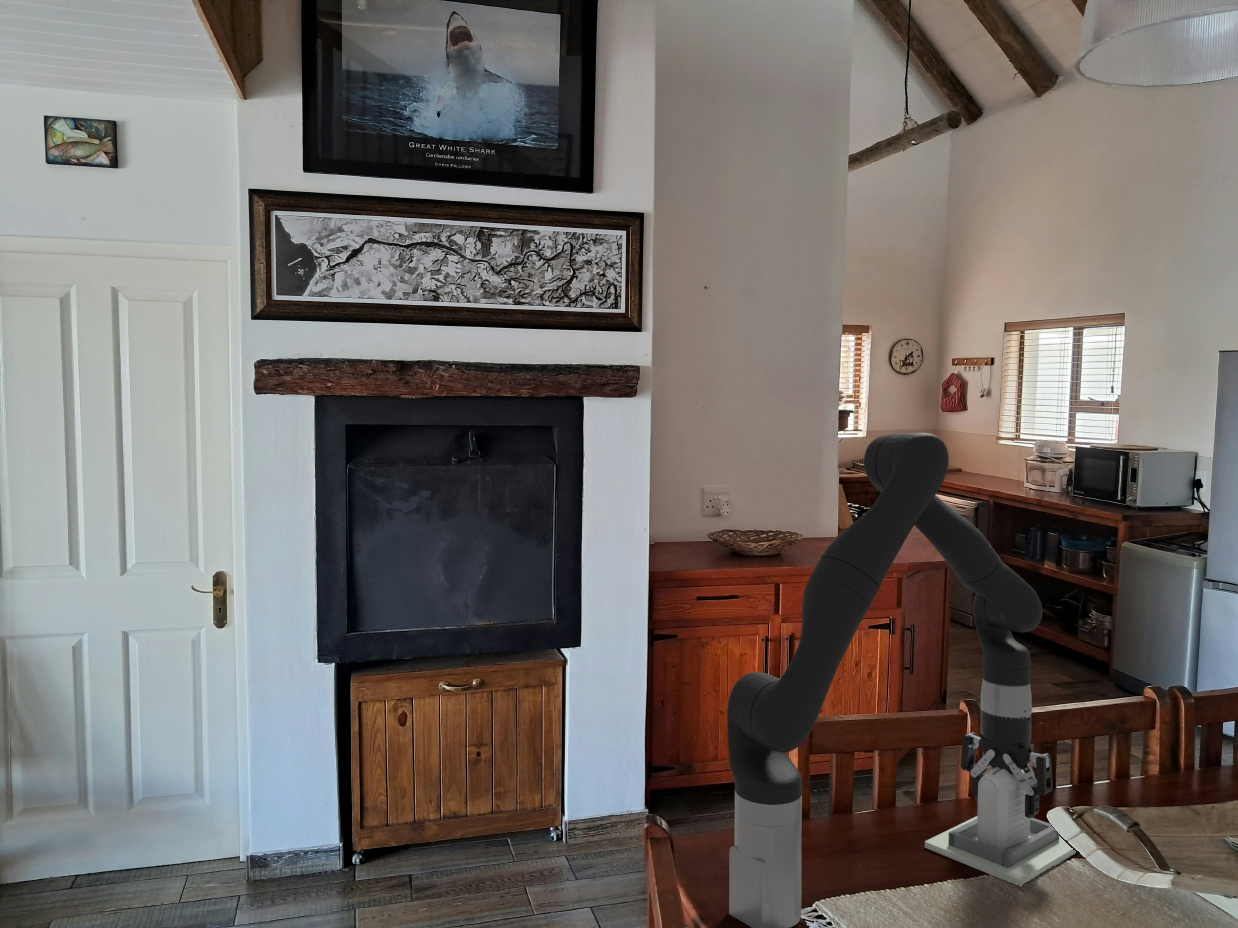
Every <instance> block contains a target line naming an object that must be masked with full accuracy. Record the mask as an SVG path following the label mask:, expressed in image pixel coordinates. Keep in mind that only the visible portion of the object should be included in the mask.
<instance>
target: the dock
mask: <svg viewBox="0 0 1238 928" xmlns="http://www.w3.org/2000/svg"><path fill="white" fill-rule="evenodd" d="M977 819H978V815H977V816H974V817H972V818H970V819H967V820H966V821H965V822H962V823H960V824H958V825H956V826H954V827H951V828H950V829H947V830H946V831H943V832H941V833H939V834H937V835H935V836H933V837H931V838H929V839H927V840H924V848H925V849H927V850H930V851H932V852H935V853H937V854H939V855H942V856H944V857H947V858H950V859H951V860H954V861H957V862H959V863H961V864H964V865H967V866H969V867H972V868H974V869H977V870H979V871H981V872H983V873H986V874H988V875H990V876H994V878H995V877H996V878H998V879H1001V880H1003V881H1005V880H1006V882H1008V883H1010V882H1011V883H1010V884H1012V883H1014V884H1013V885H1015V884H1017V885H1019V886H1018V887H1020V888H1021V887H1023V886H1024V885H1025V884H1024V883H1026V882H1028V881H1029V880H1031V879H1033V878H1034V877H1035V876H1037V875H1039V874H1040V873H1042V872H1044V871H1045V870H1047V869H1049V868H1051V867H1052V866H1054V867H1055V866H1057V865H1059V864H1061V863H1062V862H1064V861H1065V860H1067V859H1069V858H1071V857H1072V856H1074V855H1075V854H1076V851H1075V850H1073V848H1071V847H1070V846H1069V845H1068V844H1067V843H1066V842H1065V841H1064V840H1063V839H1062V838H1061V837H1060V836H1059V834H1060V833H1059V834H1058V833H1057V832H1056V830H1055V829H1054V828H1053V827H1052V826H1051V824H1052V823H1048V822H1046V821H1043V820H1040V819H1037V818H1035V817H1032V818H1030V836H1029V838H1028V839H1026V840H1025V841H1022V842H1020V843H1018V844H1015V845H1013V846H1011V847H1008V848H1006V849H1003V850H1001V849H999V848H996V847H993V846H991V845H988V844H986V843H983V842H980V841H978V840H977ZM1052 868H1053V867H1052ZM1052 868H1051V869H1052ZM1049 870H1050V869H1049ZM1047 871H1048V870H1047ZM1044 873H1045V872H1044ZM1042 874H1043V873H1042ZM1039 876H1040V875H1039ZM1037 877H1038V876H1037ZM1034 879H1035V878H1034ZM1034 879H1033V880H1034ZM1031 881H1032V880H1031ZM1029 882H1030V881H1029ZM1029 882H1028V883H1029ZM1023 884H1024V885H1023ZM1026 884H1027V883H1026ZM1017 885H1016V886H1017ZM1022 885H1023V886H1022Z"/></svg>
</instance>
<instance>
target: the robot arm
mask: <svg viewBox="0 0 1238 928" xmlns="http://www.w3.org/2000/svg"><path fill="white" fill-rule="evenodd" d="M949 461H950V460H949V451H948V448H947V445H946V443H945V442H944V440H942V439H941V438H940V437H939V436H937V435H935V434H933V433H927V432H904V433H891V434H884V435H881V436H877V437H876V438H875V439H873V440H872V441H871V442H870V443H869V444H868V445H867V446H866V450H865V451H864V456H863V467H864V471H865V475H866V477H867V479H868V480H869V481H870V483H871V484H872V486H873V487H874V488H876V490H877V491H878V492H879V493H880V494H879V496H878V498H877V499H876V500H875V502H874V504H872V506H871V507H870V508H869V509H868V510H867V511H866V512H865V513H864V514H862V515H861V517H859V518H858V519H857V520H856V521H855V522H853V523H852V524H851V525H850V526H847V528H845V530H844V531H842V532H841V533H840V534H839V535H838V536H837V537H836V538H835V539H834V540H833V541H832V542H830V544H829V545H828V546H827V547H826V549H825V550H824V551H823V553H822V554H821V556H820V557H819V560H818V561H817V563H816V565H815V567H814V569H813V571H812V572H811V574H810V576H809V578H808V579H807V582H806V584H805V587H804V591H803V595H802V605H801V630H800V639H799V641H798V645H797V648H796V650H795V653H794V655H793V657H792V659H791V660H790V662H789V664H788V666H787V668H786V670H785V671H784V673H783V675H782V676H781V677H780V678H779V677H776V676H774V675H771V674H768V673H765V672H761V671H753V672H749V673H746V674H744V675H742V676H741V677H740V678H739V679H738V680H737V681H736V682H735V684H734V686H733V687H732V689H731V691H730V694H729V698H728V702H727V711H726V714H727V715H726V722H727V723H726V726H727V729H726V730H727V747H728V748H727V749H728V765H729V768H730V772H731V773H732V776H733V780H734V845H733V846H731V847H730V848H729V850H728V851H729V857H728V858H729V865H728V866H729V869H728V870H729V873H728V875H729V878H728V879H729V886H728V887H729V888H728V889H729V894H728V896H729V897H728V898H729V902H728V905H729V907H728V908H729V909H728V910H729V911H728V912H729V915H730V916H732V917H733V918H735V919H737V920H738V921H740V922H742V923H743V924H745V925H746V926H749V927H750V928H792V927H794V926H796V925H797V924H798V923H799V922H800V921H801V918H802V822H803V821H802V814H803V812H802V810H803V809H802V808H803V807H802V805H803V800H802V799H803V796H802V795H803V794H802V793H803V781H802V779H803V778H802V775H801V773H800V771H799V769H798V768H797V766H796V765H795V764H794V762H793V761H792V760H791V758H790V757H789V755H788V753H789V752H792V751H794V750H796V749H797V748H799V747H800V746H801V745H802V744H803V743H804V741H806V739H807V738H808V737H809V735H810V733H811V731H812V730H813V727H814V726H815V724H816V722H817V720H818V717H819V715H820V712H821V709H822V707H823V704H824V702H825V700H826V697H827V696H828V692H829V690H830V688H831V685H832V682H833V680H834V677H835V676H836V673H837V670H838V668H839V666H840V664H841V662H842V660H843V658H844V656H845V654H846V652H847V651H848V648H849V647H850V644H851V642H852V640H853V638H854V635H855V634H856V633H857V632H856V631H857V630H858V628H859V626H860V624H861V622H862V621H863V619H864V617H865V616H866V614H867V612H868V611H869V609H870V607H871V605H872V603H873V601H874V600H875V597H876V596H877V594H878V592H879V590H880V588H881V587H882V584H883V582H884V580H885V577H886V575H887V573H888V572H889V570H890V568H891V566H892V565H893V563H894V561H895V559H896V557H897V555H898V554H899V552H900V551H901V549H902V547H903V545H904V543H905V541H906V540H907V538H908V536H909V534H910V533H911V531H912V530H913V528H914V526H915V528H916V529H917V530H918V531H919V532H920V533H921V534H922V535H923V536H924V537H925V538H926V539H927V540H928V542H929V543H930V544H931V545H932V546H933V547H934V548H935V550H937V552H938V554H940V555H941V557H942V559H943V560H944V562H946V564H947V565H948V566H949V568H950V569H951V570H952V572H953V574H955V576H956V578H957V579H958V580H959V581H960V583H961V584H962V585H963V586H964V587H965V588H966V589H967V590H969V591H971V592H973V593H975V596H974V598H973V602H972V615H973V619H974V625H975V628H976V632H977V636H978V641H979V644H980V647H981V650H982V651H981V652H982V682H981V687H980V688H981V690H980V729H979V731H980V734H981V735H980V736H977V733H976V732H974V731H972V732H969V733H967V734H964V735H962V738H961V739H962V740H961V752H960V768H961V770H963V771H966V772H968V773H969V774H970V776H971V794H972V795H973V796H974V800H976V801H978V784H979V781H980V779H981V778H982V777H983V776H984V775H985V774H986V773H987V772H988V770H989V769H990V768H992V769H993V768H996V767H999V768H1000V769H1005V770H1007V771H1008V772H1009V773H1010V774H1014V776H1015V777H1016V779H1017V781H1018V782H1020V783H1021V784H1022V786H1023V787H1024V789H1025V791H1026V792H1027V794H1025V817H1027V818H1035V816H1036V815H1037V814H1039V811H1040V796H1045V795H1047V794H1048V793H1051V792H1052V791H1053V788H1054V787H1053V767H1052V766H1053V763H1052V756H1051V755H1050V753H1048V752H1046V753H1037V752H1033V750H1032V748H1031V741H1032V712H1033V706H1032V704H1033V703H1032V690H1031V655H1030V652H1029V649H1028V648H1027V647H1026V646H1024V645H1022V644H1021V643H1020V642H1018V641H1017V640H1016V639H1015V638H1014V636H1013V634H1012V632H1014V633H1015V632H1016V633H1028V632H1031V631H1033V630H1035V629H1036V628H1037V627H1038V626H1039V624H1040V623H1041V621H1042V618H1043V606H1042V602H1041V599H1040V596H1039V595H1038V594H1037V592H1036V591H1035V589H1034V588H1033V587H1032V586H1031V585H1030V584H1029V583H1028V582H1026V580H1025V579H1023V578H1022V577H1021V576H1020V575H1019V574H1018V573H1017V572H1016V571H1014V570H1013V569H1012V568H1011V567H1009V565H1006V563H1004V561H1002V558H1001V557H1000V556H999V554H998V553H997V551H996V550H995V549H994V548H993V546H992V545H991V543H990V542H989V540H988V539H987V538H986V537H985V535H984V534H983V533H982V532H981V531H980V530H979V529H978V528H977V527H976V526H975V525H974V524H973V523H972V522H970V521H969V520H968V519H967V518H965V517H964V516H963V515H961V514H960V513H958V512H957V511H956V510H954V509H953V508H951V507H950V506H949V505H948V504H946V503H945V502H944V501H943V500H942V499H941V498H939V497H938V496H937V495H936V494H937V492H938V491H939V490H940V488H941V487H942V485H943V483H944V480H945V479H946V476H947V473H948V470H949V463H950V462H949ZM978 748H979V749H980V750H981V752H982V753H983V756H982V757H981V758H980V759H979V760H978V761H977V763H976V753H977V749H978ZM1029 762H1032V764H1033V767H1034V768H1036V774H1035V771H1034V769H1033V768H1032V767H1031V765H1030V763H1029ZM1022 769H1023V771H1024V774H1023V773H1022V771H1021V770H1022ZM1035 775H1036V777H1035Z"/></svg>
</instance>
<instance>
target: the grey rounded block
mask: <svg viewBox="0 0 1238 928" xmlns="http://www.w3.org/2000/svg"><path fill="white" fill-rule="evenodd" d="M1021 771H1022V773H1023V774H1024V771H1023V769H1022V770H1021ZM983 775H984V776H983V777H982V778H981V779H980V781H979V784H978V800H977V816H978V819H977V840H978V841H980V842H983V843H986V844H988V845H991V846H993V847H996V848H999V849H1001V850H1003V849H1006V848H1008V847H1011V846H1013V845H1015V844H1018V843H1020V842H1022V841H1025V840H1026V839H1028V838H1029V836H1030V818H1027V817H1025V794H1027V792H1026V791H1025V789H1024V787H1023V786H1022V784H1021V783H1020V782H1018V781H1017V779H1016V777H1015V776H1014V774H1010V773H1009V772H1008V771H1007V770H1005V769H1000V768H999V767H996V768H993V767H992V769H990V770H989V771H986V772H985V773H984V774H983Z"/></svg>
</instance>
